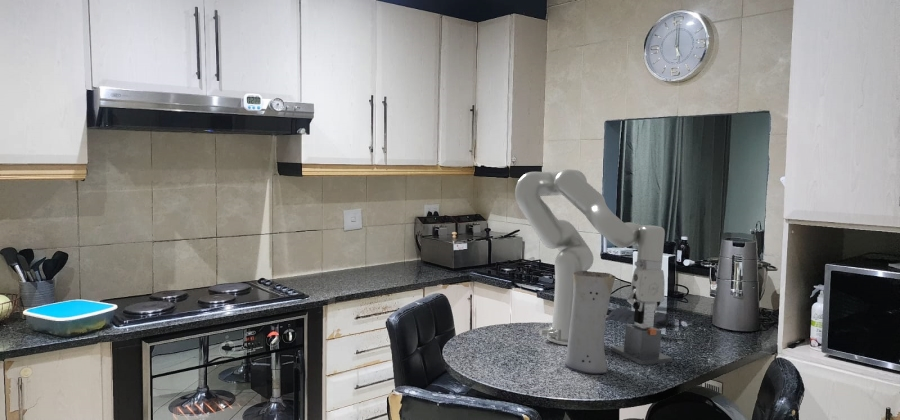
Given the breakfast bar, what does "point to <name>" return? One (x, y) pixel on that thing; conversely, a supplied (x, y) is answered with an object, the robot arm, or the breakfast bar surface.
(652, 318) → the column
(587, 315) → the vase
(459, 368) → the breakfast bar surface
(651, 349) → the stand
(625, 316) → the dark slate chunk
